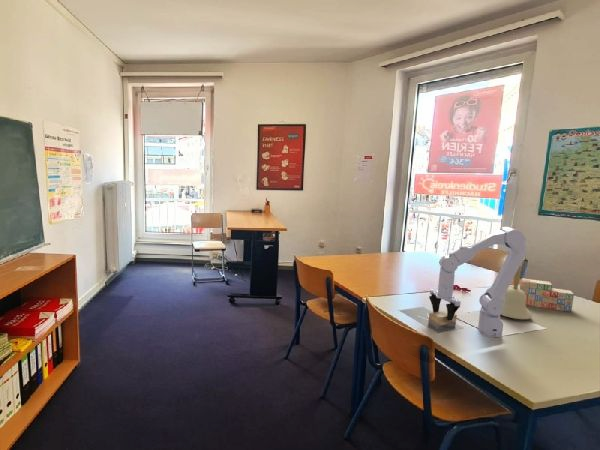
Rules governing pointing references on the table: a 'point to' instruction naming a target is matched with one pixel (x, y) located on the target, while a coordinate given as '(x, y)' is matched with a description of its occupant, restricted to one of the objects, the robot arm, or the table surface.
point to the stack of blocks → (546, 295)
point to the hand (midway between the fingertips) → (442, 316)
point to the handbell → (515, 301)
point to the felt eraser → (441, 320)
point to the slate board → (425, 318)
